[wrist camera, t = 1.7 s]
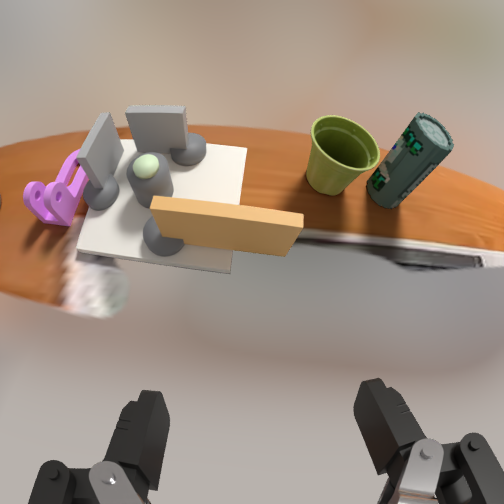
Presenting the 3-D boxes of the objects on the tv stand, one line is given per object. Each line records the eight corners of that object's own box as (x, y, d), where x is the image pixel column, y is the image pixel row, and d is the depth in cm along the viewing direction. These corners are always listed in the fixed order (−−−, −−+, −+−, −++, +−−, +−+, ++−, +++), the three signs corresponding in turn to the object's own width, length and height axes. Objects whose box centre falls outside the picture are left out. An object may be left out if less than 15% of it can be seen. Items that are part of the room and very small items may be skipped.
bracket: (70, 226, 32) (47, 202, 26) (43, 223, 32) (19, 200, 26) (100, 153, 37) (86, 123, 31) (74, 153, 37) (59, 126, 30)
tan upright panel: (141, 253, 30) (120, 223, 23) (151, 215, 32) (135, 178, 25) (283, 271, 31) (302, 246, 24) (286, 232, 33) (303, 197, 26)
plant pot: (323, 146, 41) (341, 108, 33) (365, 187, 39) (391, 153, 31) (281, 170, 39) (295, 128, 31) (326, 217, 37) (352, 182, 29)
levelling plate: (74, 251, 31) (37, 219, 22) (116, 143, 38) (99, 99, 29) (230, 273, 32) (233, 242, 24) (246, 152, 39) (253, 103, 30)
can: (377, 169, 41) (422, 107, 27) (404, 194, 40) (456, 138, 26) (360, 188, 39) (409, 121, 25) (389, 215, 38) (448, 157, 24)
